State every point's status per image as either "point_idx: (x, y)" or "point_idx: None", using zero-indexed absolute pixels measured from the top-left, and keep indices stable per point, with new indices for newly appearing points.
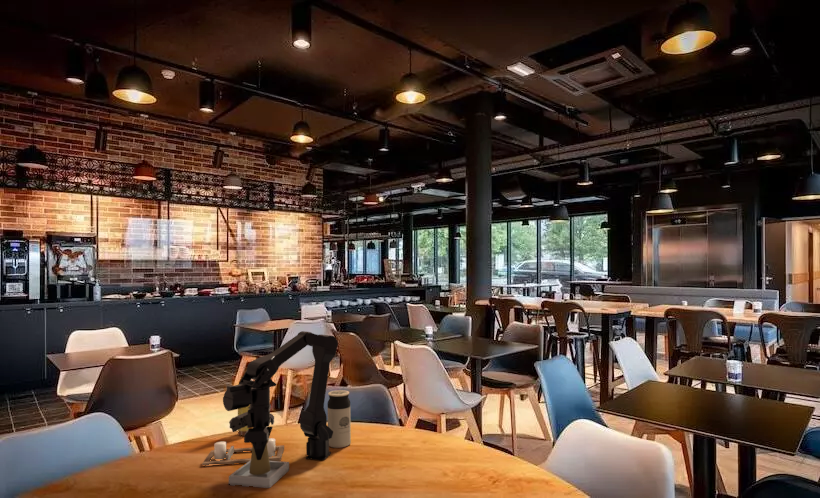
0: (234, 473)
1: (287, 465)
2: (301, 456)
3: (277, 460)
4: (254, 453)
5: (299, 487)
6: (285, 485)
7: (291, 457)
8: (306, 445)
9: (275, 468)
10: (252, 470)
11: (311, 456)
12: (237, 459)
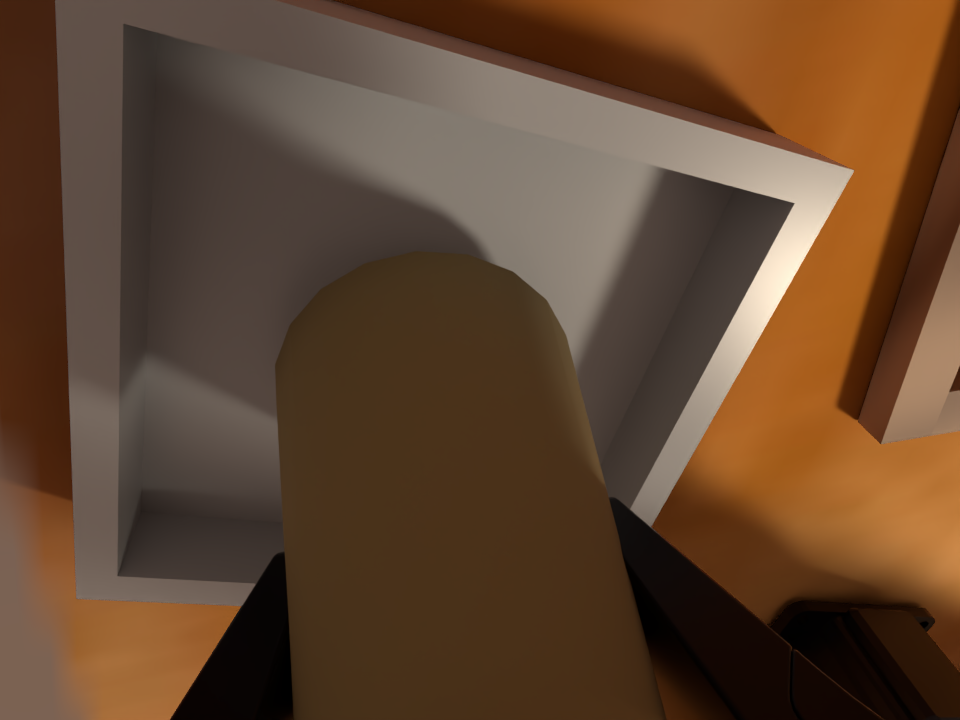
0: (219, 33)
1: None
2: (883, 552)
3: (871, 397)
4: (301, 604)
5: (170, 702)
6: (201, 611)
7: (903, 486)
8: (914, 692)
9: (603, 458)
10: (290, 360)
11: (792, 649)
12: None
